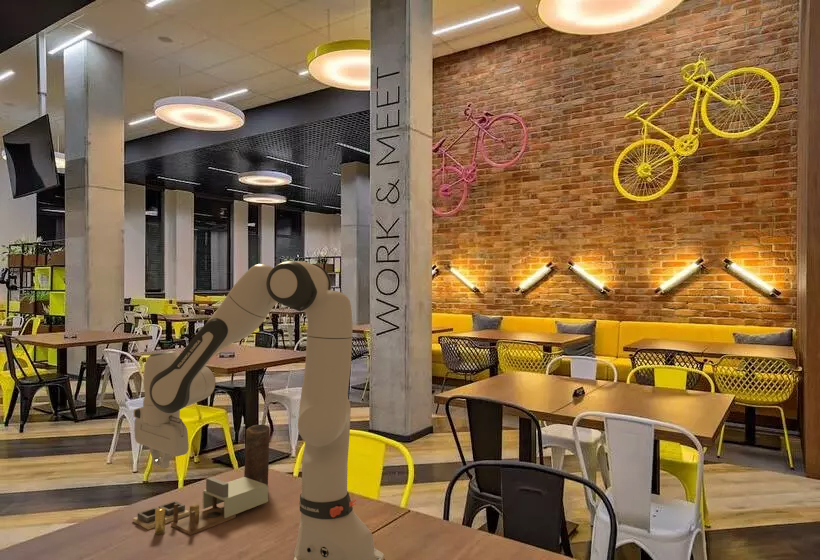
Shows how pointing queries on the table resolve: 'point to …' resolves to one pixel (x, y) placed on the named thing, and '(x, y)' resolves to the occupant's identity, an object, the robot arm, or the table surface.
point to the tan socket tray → (148, 516)
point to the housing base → (199, 518)
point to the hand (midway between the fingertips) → (160, 466)
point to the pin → (160, 521)
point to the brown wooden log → (257, 453)
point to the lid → (235, 494)
